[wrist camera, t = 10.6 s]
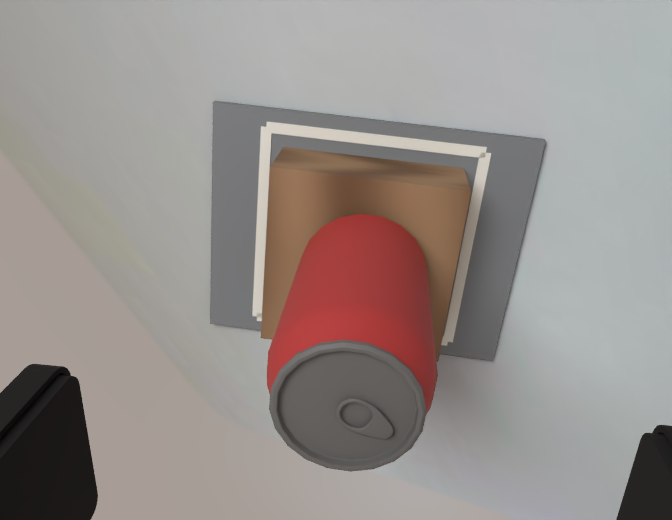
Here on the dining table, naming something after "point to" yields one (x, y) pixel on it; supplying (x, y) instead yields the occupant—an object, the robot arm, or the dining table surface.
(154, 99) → the dining table surface
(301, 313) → the beer can
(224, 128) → the grey mat
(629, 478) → the robot arm
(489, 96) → the dining table surface
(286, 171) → the walnut base block
